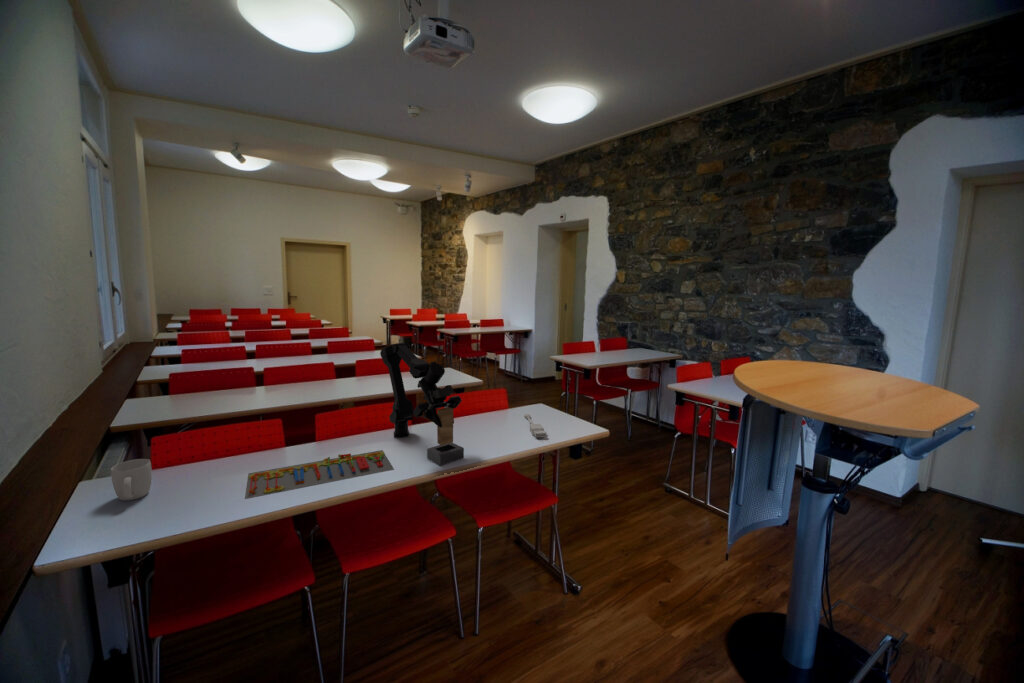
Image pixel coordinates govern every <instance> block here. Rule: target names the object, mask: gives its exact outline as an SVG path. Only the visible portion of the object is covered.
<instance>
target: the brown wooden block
mask: <svg viewBox="0 0 1024 683" xmlns="http://www.w3.org/2000/svg"><path fill="white" fill-rule="evenodd" d="M436 413H437V415H438V417H439V419H440V422H441V424H442V427H441V428H440V427H439V426H437V425H436V426H437V429H436V430H437V439H436V440H437V444H438V445H445V444H448V443H454V424H453V417H454V409H452V408H450V407H446V408H444V407H442V408H438V409H436Z"/></svg>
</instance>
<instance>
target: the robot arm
mask: <svg viewBox="0 0 1024 683" xmlns="http://www.w3.org/2000/svg"><path fill="white" fill-rule="evenodd" d="M379 354H380V357H381V359H382V363H383V364H384V365H385V366H386V367H387V369H388V374H389V380H390V383H391V389H392V394H393V398H394V401H393V403H392V412H391V413H390V414H389V416H388V418H389V422H390V423H392V424H393V425H394V430H393V438H403V437H410V430H409V421H413V419H414V418H415V419H416V418H420V417H423V418H426V419H428V420H429V421H431V422H432V423H433V424H435V425H436V426H439V427H440V428H441V427H442V424H441V422H440V419H439V417H438V415H437V410H438V409H442V408H446V407H450V408H452V409H453V410H454V409H457V408H458V407H459V405H460V404H461V403H462V401H463V399H462V398H461V397H460V396H459V395H455V396H451V394H453V393H454V389H453V387H452V385H451V384H448V385H446V386H444V387H442V388H441V387H438V386H437V384H438V383H439V382H440V381H441V379H442V377H443V376H444V375H445V373H446V370H445V367H443V366H442V364H440V363H437V362H436V361H430V363H429V362H427V361H426V360H424V359H420V358H418V356H416V355H415V354H414V352H412V350H411V349H410V348H409V347H408V345H407V344H406V343H405V342H396V343H394V344H392V345H389V346H384V347H382V349H381V350H380V353H379ZM401 361H403V362H404V363H405V364H406V366H408V368H409V371H408V372H409V373H410V375H411V377H413V379H420V380H418V383H417V388H418V389H419V388H421V391H422V393H423V400H424V401H427V402H421V403H418V404H417V405H416V407H414V406H413V400H411V399H408V397H407V395H406V392H405V391H406V389H405V385H404V381H403V375H402V371H401V365H400V364H401ZM447 397H449V399H448V400H446V399H447ZM454 423H455V419H454V416H453V425H454Z"/></svg>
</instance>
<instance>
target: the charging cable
mask: <svg viewBox="0 0 1024 683" xmlns="http://www.w3.org/2000/svg"><path fill="white" fill-rule="evenodd" d="M523 415H524V416H523V418H524V419H526V420H528V421H529V423H530V424H529V432H530V433H531V435H532V436H533V437H535V438H545V437H546V432H545V429H544V427H543V425H541V423H534V422H533V421H532V419H531V414H530V413H524V414H523Z"/></svg>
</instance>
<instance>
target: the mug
mask: <svg viewBox="0 0 1024 683" xmlns="http://www.w3.org/2000/svg"><path fill="white" fill-rule="evenodd" d="M152 469H153V468H152V463H151V460H150V459H149V458H148V459H147V458H137V459H130V460H126V461H122V462H119V463H117V464H115V465H114V466H112V467H111V469H110V475H111V483H112V487H113V489H114V492H115V495H116V497H117V498H118V499H119V500H120V501H125V502H126V501H127V502H128V501H133V500H137V499H141V498H143V497H145V496H146V495H148V494H149V491H150V490H151V486H152V479H153V477H152V475H153V473H152V472H153V471H152Z"/></svg>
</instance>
